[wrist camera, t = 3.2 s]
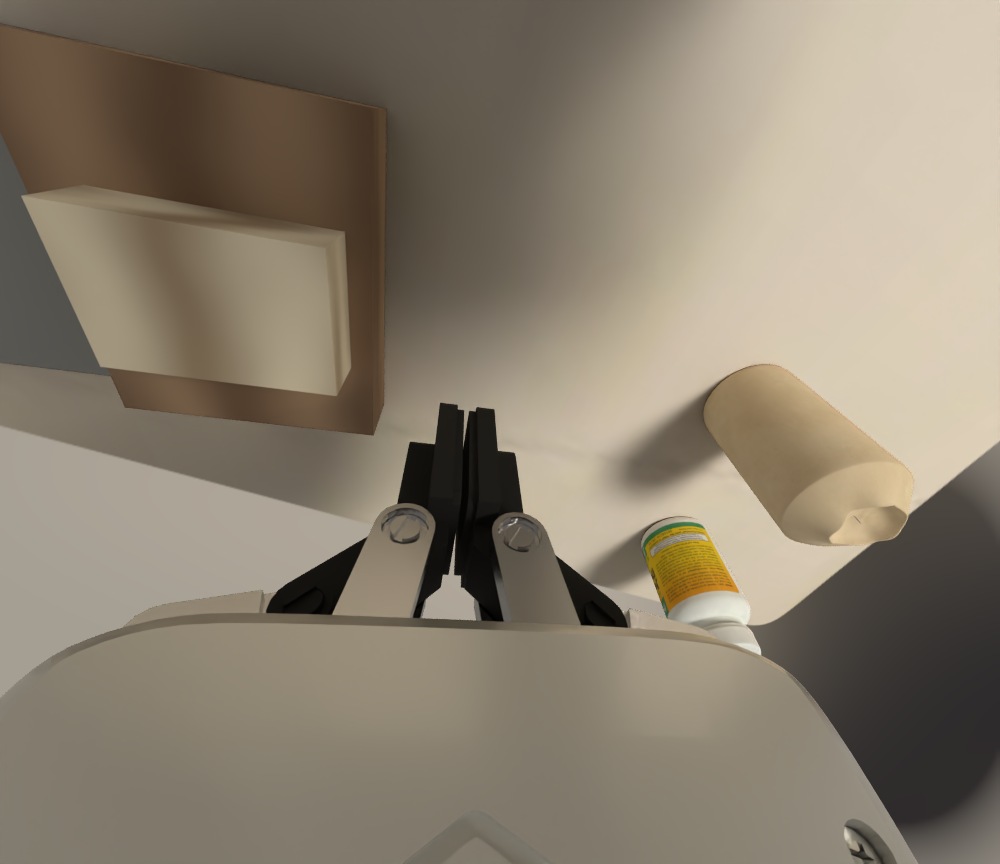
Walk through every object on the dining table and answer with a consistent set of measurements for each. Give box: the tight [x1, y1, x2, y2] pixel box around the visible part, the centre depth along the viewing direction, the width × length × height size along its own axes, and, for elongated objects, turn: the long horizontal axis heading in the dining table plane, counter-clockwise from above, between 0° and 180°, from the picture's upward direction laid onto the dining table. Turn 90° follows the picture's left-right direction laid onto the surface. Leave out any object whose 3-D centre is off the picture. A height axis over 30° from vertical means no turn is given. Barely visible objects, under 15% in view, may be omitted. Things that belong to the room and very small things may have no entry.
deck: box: [0, 24, 387, 435], centre depth 18 cm, size 12×14×3 cm
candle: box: [703, 364, 914, 546], centre depth 21 cm, size 6×6×10 cm
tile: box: [21, 185, 351, 396], centre depth 16 cm, size 9×6×2 cm, turn 80°
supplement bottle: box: [641, 517, 761, 655], centre depth 29 cm, size 5×5×10 cm
